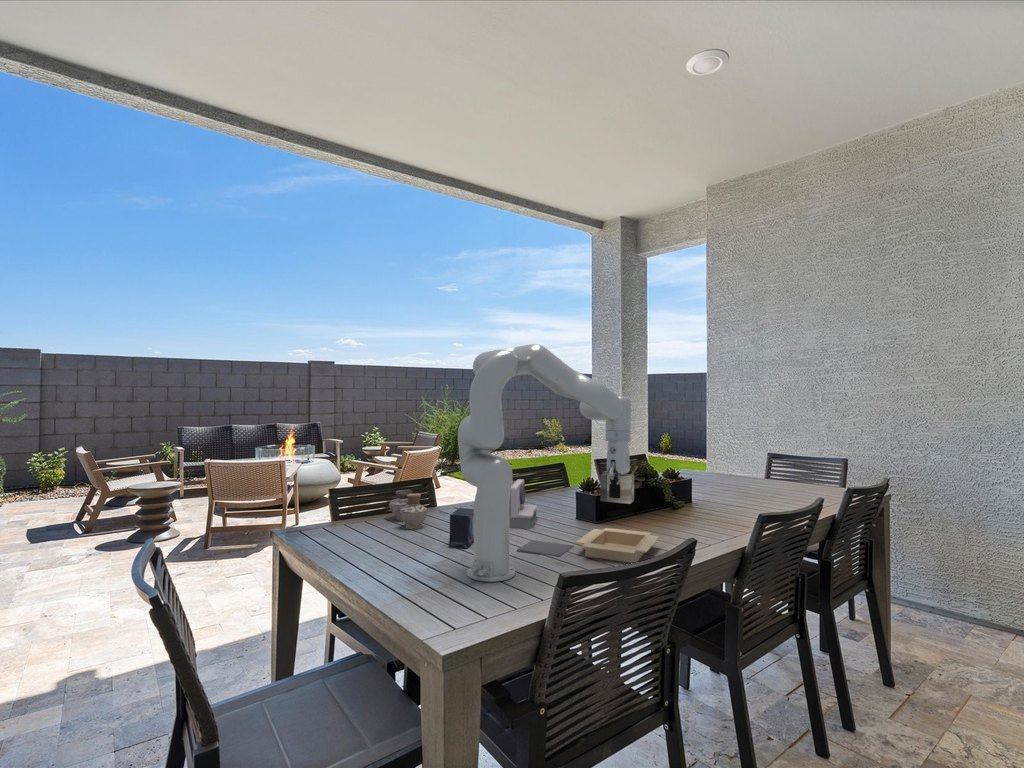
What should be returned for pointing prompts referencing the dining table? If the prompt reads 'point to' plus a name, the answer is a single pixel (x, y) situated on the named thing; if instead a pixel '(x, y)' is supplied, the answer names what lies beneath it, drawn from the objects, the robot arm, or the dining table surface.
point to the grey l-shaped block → (520, 507)
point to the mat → (545, 548)
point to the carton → (617, 544)
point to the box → (625, 489)
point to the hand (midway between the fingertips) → (617, 495)
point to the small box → (461, 528)
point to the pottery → (408, 509)
